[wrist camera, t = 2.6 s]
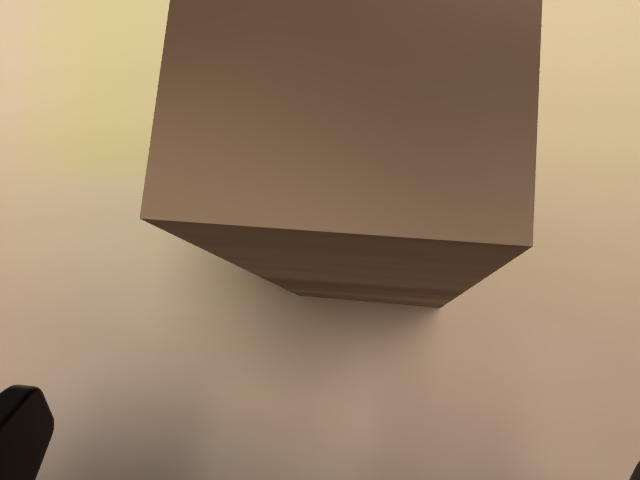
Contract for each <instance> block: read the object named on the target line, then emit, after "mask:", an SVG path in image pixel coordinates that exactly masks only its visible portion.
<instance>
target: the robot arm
mask: <svg viewBox="0 0 640 480" xmlns="http://www.w3.org/2000/svg"><path fill="white" fill-rule="evenodd" d="M53 430H54V418H53V416H52V413H51V411H50V409H49V406H48V404H47V402H46V399H45V397H44V394H43V392H42V391H41V389H39V388H38V387H35V386H26V385H13V386H10V387H8V388H7V389H5V390H4V391H2V392H1V393H0V480H35V479H36V476H37V474H38V471H39V469H40V466H41V463H42V461H43V458H44V455H45V453H46V450H47V447H48V445H49V442H50V439H51V437H52V434H53ZM629 480H640V461H639V462H638V464H637V465H636V467H635V469H634V471H633V473H632V475H631V477H630V479H629Z"/></svg>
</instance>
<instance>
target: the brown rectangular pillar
mask: <svg viewBox="0 0 640 480" xmlns="http://www.w3.org/2000/svg"><path fill="white" fill-rule="evenodd" d="M541 17H542V0H170V4H169V12H168V19H167V26H166V33H165V40H164V48H163V55H162V62H161V69H160V76H159V84H158V91H157V98H156V105H155V112H154V120H153V127H152V134H151V141H150V148H149V156H148V163H147V170H146V177H145V184H144V192H143V199H142V206H141V213H140V219H142V220H144V221H146V222H148V223H150V224H152V225H154V226H156V227H158V228H160V229H163V230H165V231H167V232H169V233H171V234H173V235H175V236H177V237H179V238H181V239H183V240H185V241H187V242H189V243H192V244H194V245H196V246H198V247H200V248H202V249H204V250H206V251H208V252H210V253H212V254H214V255H216V256H218V257H221V258H223V259H225V260H227V261H229V262H231V263H233V264H235V265H237V266H239V267H241V268H243V269H245V270H247V271H250V272H252V273H254V274H256V275H258V276H260V277H262V278H264V279H266V280H268V281H270V282H272V283H274V284H277V285H279V286H281V287H283V288H285V289H287V290H289V291H291V292H293V293H295V294H297V295H301V296H313V297H325V298H337V299H348V300H360V301H372V302H384V303H395V304H407V305H419V306H431V307H442V306H444V305H445V304H447V303H448V302H450V301H451V300H453V299H454V298H456V297H457V296H459V295H460V294H462V293H463V292H465V291H466V290H468V289H469V288H471V287H472V286H474V285H475V284H477V283H478V282H480V281H481V280H483V279H484V278H486V277H487V276H489V275H490V274H492V273H493V272H495V271H496V270H498V269H499V268H501V267H502V266H504V265H505V264H507V263H508V262H510V261H511V260H513V259H514V258H516V257H517V256H519V255H520V254H522V253H523V252H525V251H526V250H528V249H529V248H531V247H532V246H533V220H534V195H535V170H536V144H537V119H538V93H539V68H540V42H541Z"/></svg>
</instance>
